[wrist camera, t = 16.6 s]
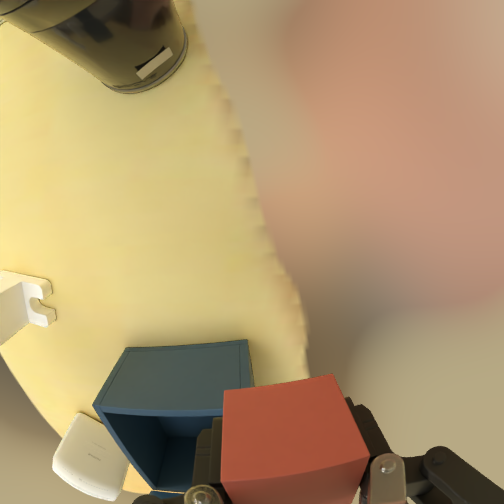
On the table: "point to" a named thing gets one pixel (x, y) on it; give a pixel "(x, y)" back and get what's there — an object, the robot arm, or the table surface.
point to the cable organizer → (22, 303)
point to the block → (291, 444)
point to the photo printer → (91, 459)
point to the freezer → (169, 404)
